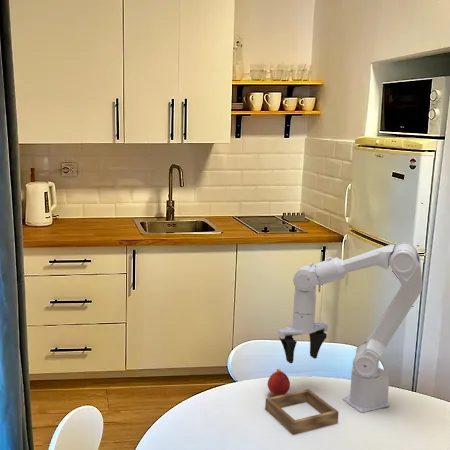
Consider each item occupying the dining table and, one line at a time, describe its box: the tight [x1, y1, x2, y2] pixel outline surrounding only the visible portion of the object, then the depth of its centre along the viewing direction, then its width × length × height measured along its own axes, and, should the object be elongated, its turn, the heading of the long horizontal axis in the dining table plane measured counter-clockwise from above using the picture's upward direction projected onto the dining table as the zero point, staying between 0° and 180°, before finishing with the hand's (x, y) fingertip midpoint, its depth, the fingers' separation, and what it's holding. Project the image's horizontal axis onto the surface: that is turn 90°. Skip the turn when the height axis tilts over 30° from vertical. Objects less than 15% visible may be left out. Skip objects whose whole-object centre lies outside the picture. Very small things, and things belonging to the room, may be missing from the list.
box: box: [264, 388, 340, 436], centre depth 147 cm, size 13×13×3 cm
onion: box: [267, 368, 291, 397], centre depth 156 cm, size 6×6×8 cm
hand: (301, 359), depth 158 cm, fingers open, 7 cm apart
